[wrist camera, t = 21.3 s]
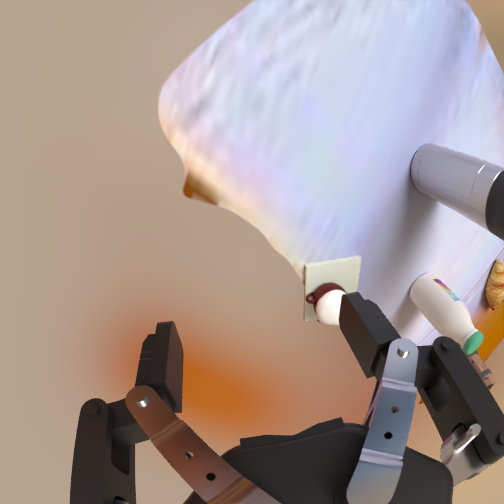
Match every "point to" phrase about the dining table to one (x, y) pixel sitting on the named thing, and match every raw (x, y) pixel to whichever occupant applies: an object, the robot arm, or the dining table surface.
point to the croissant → (495, 285)
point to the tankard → (480, 368)
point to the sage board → (330, 278)
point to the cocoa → (327, 302)
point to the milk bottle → (445, 311)
